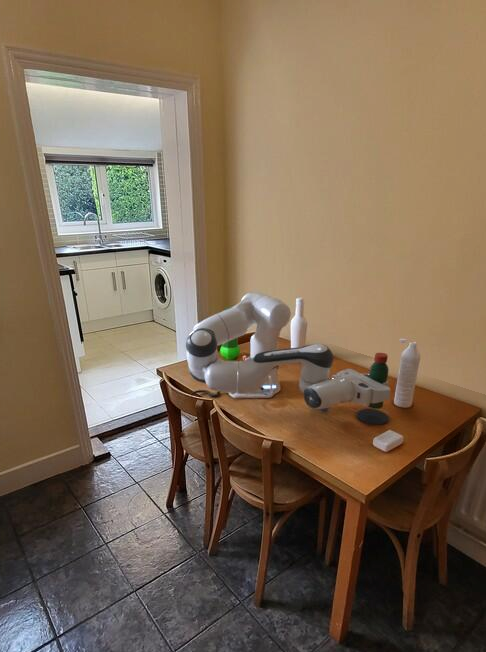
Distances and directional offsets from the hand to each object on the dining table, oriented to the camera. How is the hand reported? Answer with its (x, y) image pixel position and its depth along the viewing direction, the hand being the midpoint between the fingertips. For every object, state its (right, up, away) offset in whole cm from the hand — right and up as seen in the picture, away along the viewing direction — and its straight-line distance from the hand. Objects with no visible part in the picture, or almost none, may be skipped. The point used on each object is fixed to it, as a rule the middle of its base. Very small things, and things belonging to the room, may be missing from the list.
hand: (379, 379), depth 142 cm
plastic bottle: (-53, +12, +62) cm, 83 cm away
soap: (-1, -21, -10) cm, 23 cm away
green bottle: (-1, -9, +4) cm, 10 cm away
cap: (-1, +8, -4) cm, 9 cm away
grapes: (-19, -11, +12) cm, 25 cm away
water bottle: (+13, -9, +16) cm, 23 cm away
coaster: (-1, -14, +6) cm, 15 cm away
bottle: (-20, +11, +60) cm, 64 cm away
